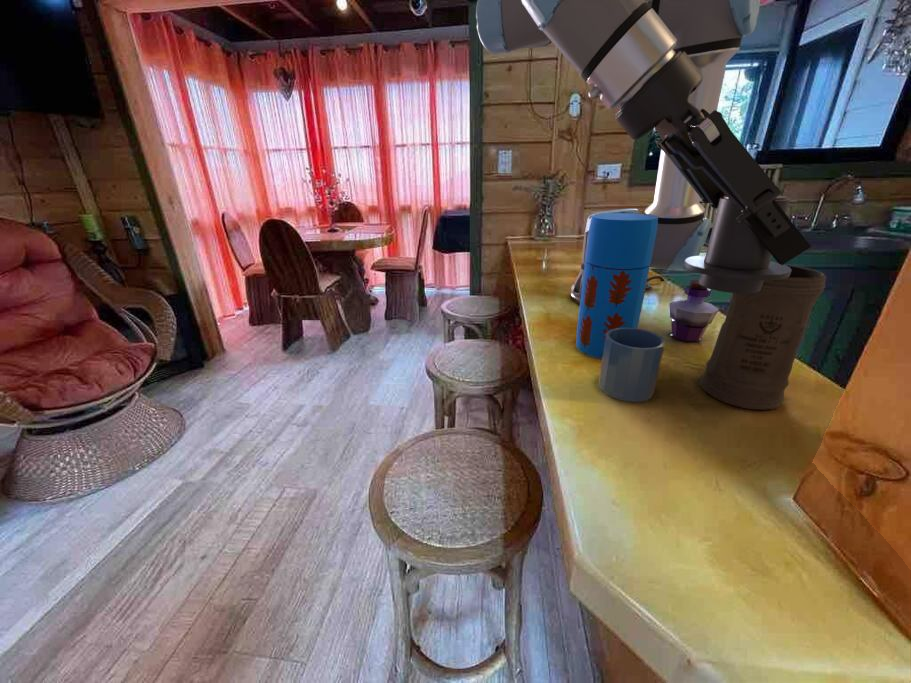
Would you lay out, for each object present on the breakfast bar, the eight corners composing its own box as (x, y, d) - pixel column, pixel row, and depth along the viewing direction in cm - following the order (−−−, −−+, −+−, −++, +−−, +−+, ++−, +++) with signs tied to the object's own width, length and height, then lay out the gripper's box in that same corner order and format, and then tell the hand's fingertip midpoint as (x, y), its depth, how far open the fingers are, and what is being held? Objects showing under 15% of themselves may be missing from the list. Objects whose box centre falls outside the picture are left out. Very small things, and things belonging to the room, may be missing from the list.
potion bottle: (708, 333, 80) (724, 278, 75) (711, 349, 73) (728, 289, 68) (663, 326, 84) (675, 274, 79) (661, 341, 77) (674, 284, 72)
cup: (608, 370, 66) (616, 323, 62) (658, 385, 61) (670, 335, 58) (591, 390, 60) (598, 340, 57) (645, 408, 56) (657, 354, 52)
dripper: (688, 271, 50) (706, 193, 46) (783, 283, 44) (815, 194, 40) (671, 289, 43) (691, 198, 39) (782, 305, 37) (820, 200, 33)
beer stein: (797, 419, 52) (851, 277, 45) (708, 405, 56) (746, 271, 49) (757, 374, 66) (794, 259, 59) (687, 365, 69) (715, 256, 62)
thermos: (638, 362, 69) (667, 220, 58) (577, 357, 71) (595, 220, 60) (626, 338, 78) (649, 213, 68) (573, 335, 81) (587, 213, 70)
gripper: (602, 123, 48) (712, 255, 51) (626, 99, 31) (787, 297, 34) (656, 70, 45) (770, 214, 48) (715, 11, 28) (885, 239, 31)
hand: (777, 248), depth 41 cm, fingers closed on dripper, 6 cm apart
